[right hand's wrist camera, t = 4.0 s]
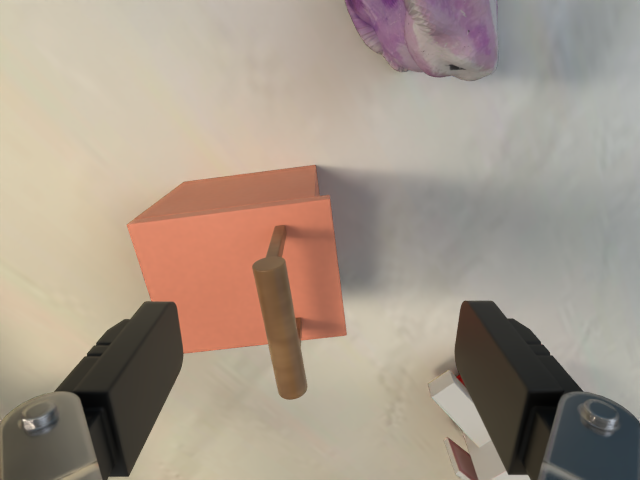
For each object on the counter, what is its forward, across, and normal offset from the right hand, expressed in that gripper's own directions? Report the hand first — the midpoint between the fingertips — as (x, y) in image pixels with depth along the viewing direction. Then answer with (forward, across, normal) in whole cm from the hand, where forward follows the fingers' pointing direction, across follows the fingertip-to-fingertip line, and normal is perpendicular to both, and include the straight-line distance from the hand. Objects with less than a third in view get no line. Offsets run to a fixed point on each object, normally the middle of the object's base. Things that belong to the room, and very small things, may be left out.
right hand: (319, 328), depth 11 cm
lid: (+15, -5, -6) cm, 17 cm away
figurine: (+26, +7, +12) cm, 29 cm away
